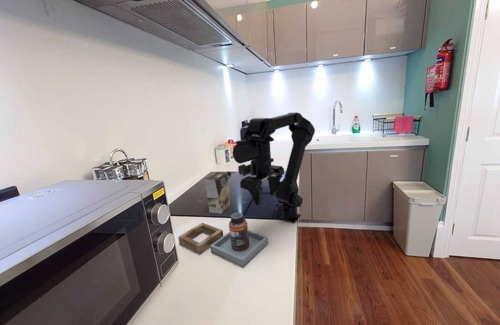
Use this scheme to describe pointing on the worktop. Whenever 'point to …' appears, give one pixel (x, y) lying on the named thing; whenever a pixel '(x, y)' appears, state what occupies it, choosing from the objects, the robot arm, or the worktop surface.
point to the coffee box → (217, 192)
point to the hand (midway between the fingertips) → (265, 199)
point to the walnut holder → (203, 245)
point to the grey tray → (239, 257)
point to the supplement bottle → (238, 232)
